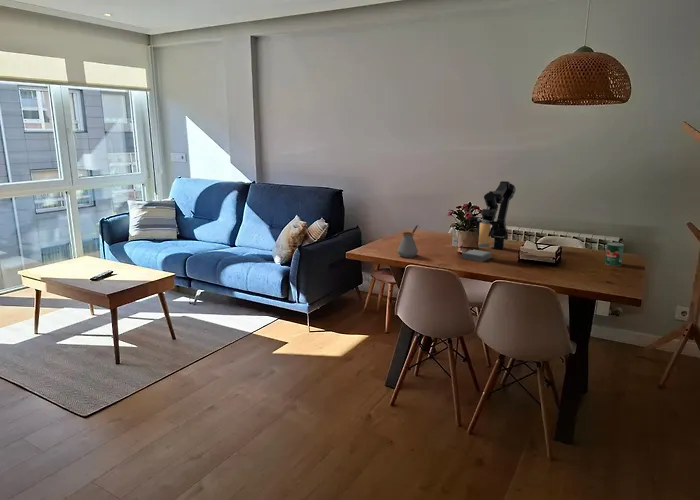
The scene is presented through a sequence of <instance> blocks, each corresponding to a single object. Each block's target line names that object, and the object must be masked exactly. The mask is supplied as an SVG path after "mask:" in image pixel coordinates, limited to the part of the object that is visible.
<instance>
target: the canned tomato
mask: <svg viewBox="0 0 700 500" xmlns="http://www.w3.org/2000/svg"><path fill="white" fill-rule="evenodd" d="M624 247H625V244H624V243H621V242H615V241H614V242H613V241H609V242H607V243H606V249H605V256H604V257H605V258H604V263H605V264H604V265H606V264H607V266H609V265H612V266H611V267H622V261H623V255H624Z"/></svg>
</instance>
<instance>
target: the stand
mask: <svg viewBox="0 0 700 500" xmlns="http://www.w3.org/2000/svg"><path fill="white" fill-rule="evenodd" d="M492 255H493V252H492V251H486V250H480V249H473V250H471V249H469V250H466V251H464V252H462V253H461V259H464V260H469V261H475V262H479V263H483V262H485V261H487V260H490V259H492V257H493V256H492Z"/></svg>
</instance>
